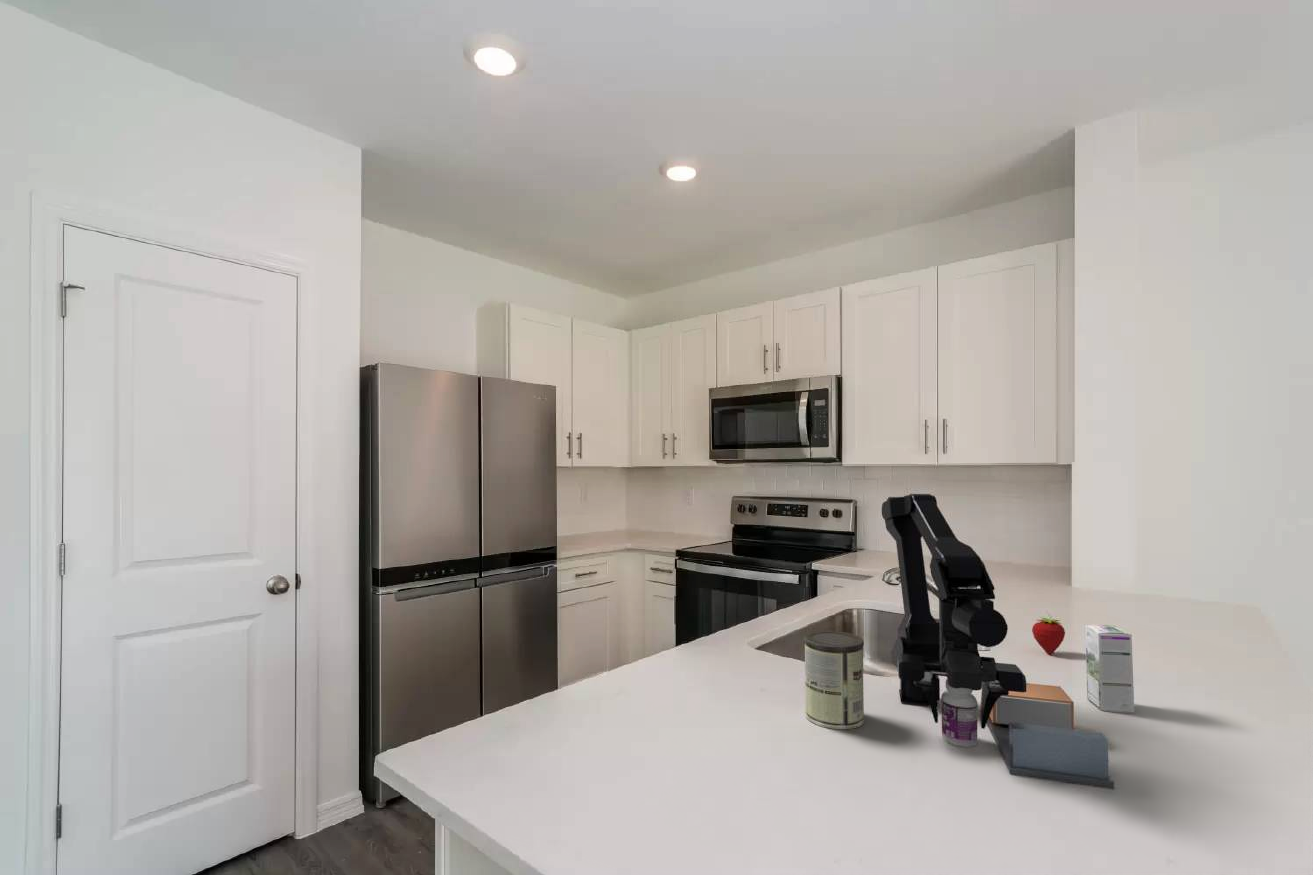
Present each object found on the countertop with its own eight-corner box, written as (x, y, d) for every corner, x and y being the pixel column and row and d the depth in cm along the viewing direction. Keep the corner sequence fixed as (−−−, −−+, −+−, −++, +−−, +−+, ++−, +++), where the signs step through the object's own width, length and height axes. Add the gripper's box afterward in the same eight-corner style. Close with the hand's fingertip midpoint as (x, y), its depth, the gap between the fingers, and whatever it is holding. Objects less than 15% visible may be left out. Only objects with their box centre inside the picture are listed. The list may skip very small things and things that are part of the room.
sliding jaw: (984, 706, 116) (984, 678, 116) (1060, 715, 112) (1060, 686, 112) (993, 724, 108) (993, 694, 108) (1075, 733, 104) (1074, 702, 104)
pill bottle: (935, 734, 107) (934, 675, 107) (965, 733, 107) (964, 675, 108) (952, 748, 102) (952, 687, 102) (984, 747, 102) (983, 686, 102)
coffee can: (810, 702, 120) (810, 627, 121) (867, 712, 116) (867, 634, 117) (798, 723, 111) (798, 641, 112) (860, 734, 107) (859, 649, 107)
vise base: (981, 712, 116) (980, 676, 116) (1063, 721, 112) (1062, 684, 112) (1010, 774, 93) (1009, 729, 94) (1114, 789, 89) (1113, 742, 90)
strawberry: (1025, 651, 153) (1025, 609, 154) (1051, 649, 155) (1050, 608, 155) (1046, 659, 148) (1045, 615, 148) (1072, 656, 149) (1071, 613, 150)
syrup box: (1135, 713, 116) (1134, 633, 116) (1099, 711, 117) (1098, 631, 118) (1119, 702, 122) (1118, 625, 122) (1085, 699, 123) (1084, 623, 123)
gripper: (900, 636, 100) (901, 737, 100) (1034, 648, 95) (1036, 754, 94) (896, 619, 111) (897, 710, 110) (1017, 629, 105) (1018, 725, 105)
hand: (959, 724), depth 105 cm, fingers open, 7 cm apart
